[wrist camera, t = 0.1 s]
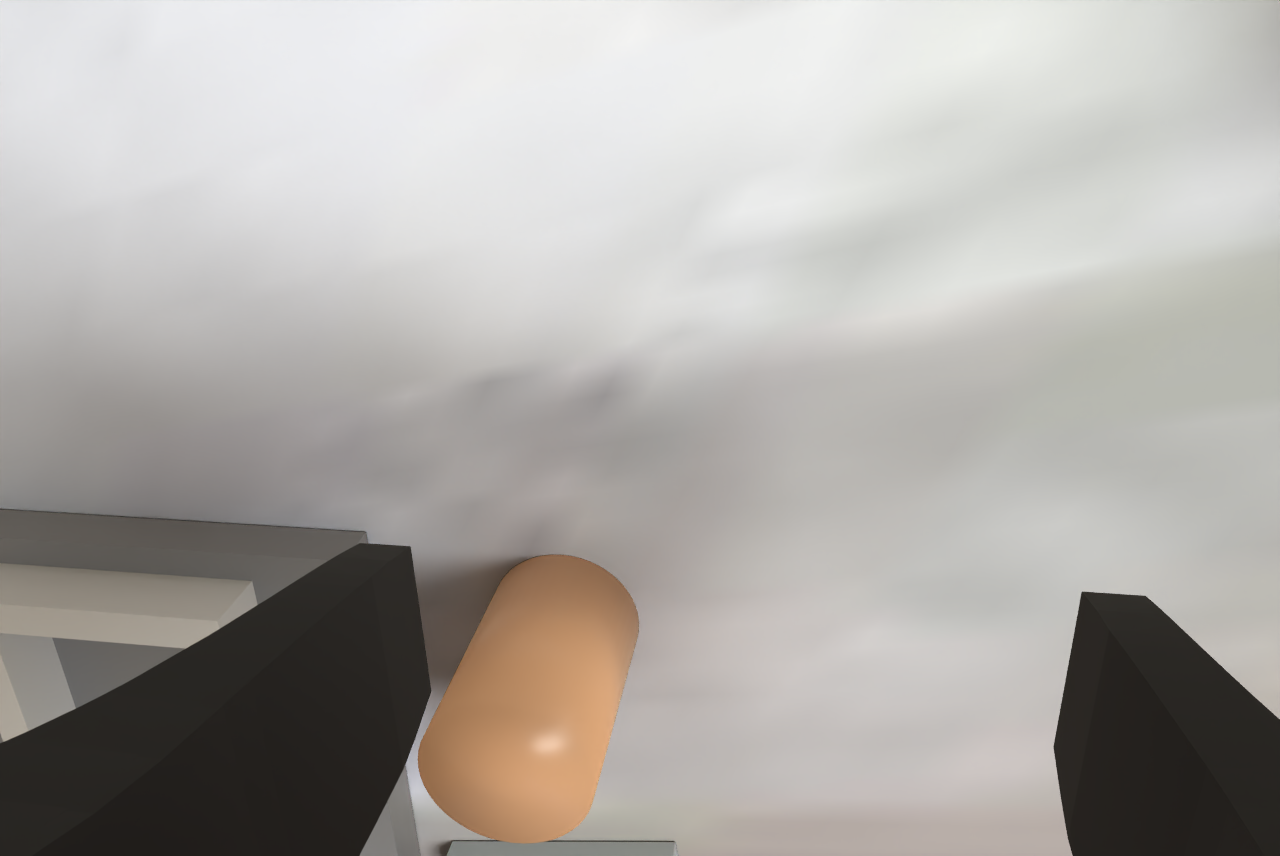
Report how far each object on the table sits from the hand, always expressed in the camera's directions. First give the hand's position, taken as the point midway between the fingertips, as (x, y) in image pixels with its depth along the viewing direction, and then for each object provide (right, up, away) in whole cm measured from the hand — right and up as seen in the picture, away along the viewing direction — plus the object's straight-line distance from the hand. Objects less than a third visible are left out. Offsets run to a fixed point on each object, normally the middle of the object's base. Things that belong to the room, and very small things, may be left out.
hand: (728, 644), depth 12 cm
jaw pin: (-3, -2, +13) cm, 13 cm away
